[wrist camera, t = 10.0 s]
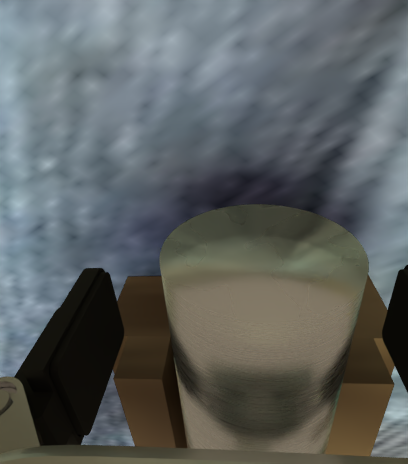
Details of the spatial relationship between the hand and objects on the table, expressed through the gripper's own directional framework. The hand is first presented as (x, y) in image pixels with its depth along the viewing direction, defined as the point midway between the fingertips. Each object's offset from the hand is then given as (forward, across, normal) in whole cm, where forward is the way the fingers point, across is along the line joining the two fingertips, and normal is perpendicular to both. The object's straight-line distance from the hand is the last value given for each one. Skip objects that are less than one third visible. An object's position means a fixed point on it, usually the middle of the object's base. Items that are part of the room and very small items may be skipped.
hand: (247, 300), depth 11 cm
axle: (+1, 0, +4) cm, 4 cm away
